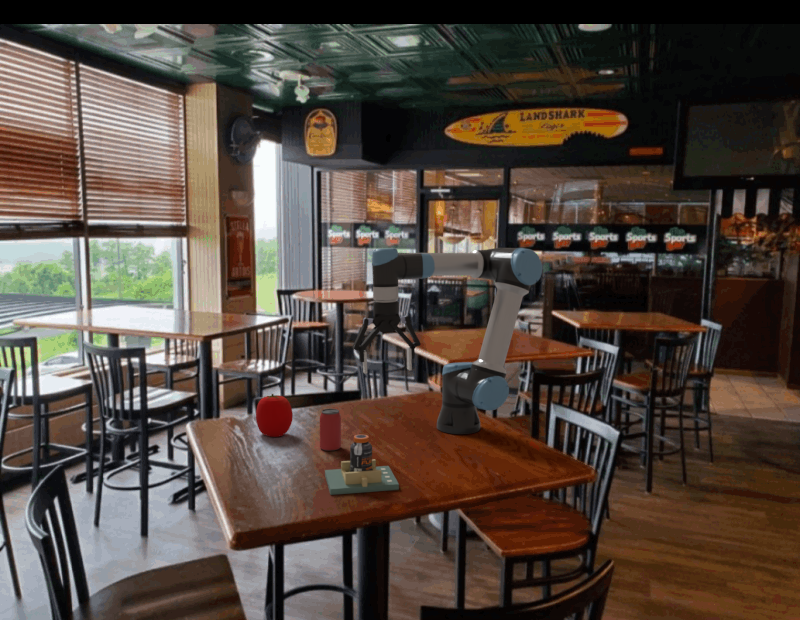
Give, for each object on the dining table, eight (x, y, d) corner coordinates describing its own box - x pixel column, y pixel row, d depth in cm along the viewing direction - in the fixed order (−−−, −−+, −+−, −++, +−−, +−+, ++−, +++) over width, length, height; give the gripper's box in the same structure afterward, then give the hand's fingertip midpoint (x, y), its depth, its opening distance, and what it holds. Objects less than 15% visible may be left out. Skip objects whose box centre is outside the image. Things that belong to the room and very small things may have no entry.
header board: (388, 470, 184) (388, 455, 183) (398, 489, 170) (399, 473, 169) (324, 475, 180) (324, 459, 179) (330, 494, 166) (330, 478, 166)
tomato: (248, 437, 213) (247, 395, 211) (267, 428, 223) (267, 388, 222) (281, 442, 208) (280, 399, 207) (299, 432, 219) (299, 391, 217)
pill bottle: (363, 482, 171) (363, 440, 169) (345, 478, 174) (345, 437, 173) (376, 475, 176) (376, 435, 174) (358, 471, 179) (358, 431, 178)
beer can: (337, 452, 199) (337, 414, 198) (317, 450, 200) (316, 412, 199) (343, 445, 206) (343, 408, 204) (323, 444, 207) (323, 407, 205)
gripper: (423, 297, 198) (424, 365, 200) (342, 301, 192) (344, 371, 194) (430, 300, 190) (430, 370, 193) (346, 304, 184) (348, 376, 187)
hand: (387, 371), depth 194 cm, fingers open, 13 cm apart
